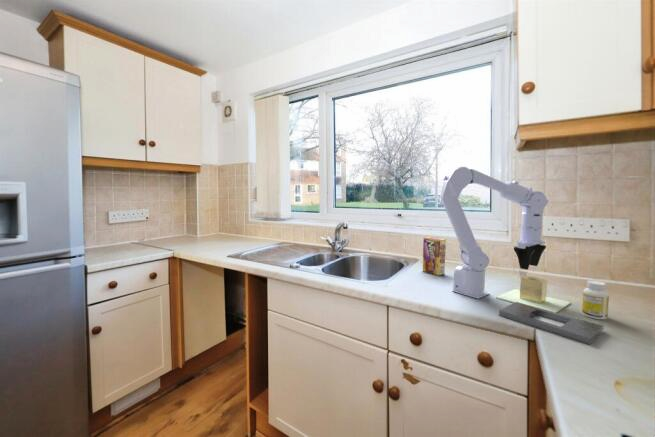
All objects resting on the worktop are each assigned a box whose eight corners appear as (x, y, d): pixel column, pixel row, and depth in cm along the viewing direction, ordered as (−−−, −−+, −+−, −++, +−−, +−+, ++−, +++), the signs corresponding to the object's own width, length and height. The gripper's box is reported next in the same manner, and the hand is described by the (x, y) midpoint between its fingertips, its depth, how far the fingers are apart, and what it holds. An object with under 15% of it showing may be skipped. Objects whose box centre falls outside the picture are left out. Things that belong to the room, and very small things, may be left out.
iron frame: (499, 315, 84) (499, 310, 84) (516, 306, 91) (516, 301, 90) (589, 344, 68) (590, 338, 68) (602, 331, 74) (603, 325, 74)
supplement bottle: (594, 311, 86) (597, 279, 85) (612, 319, 81) (615, 285, 80) (576, 312, 86) (579, 279, 85) (593, 320, 81) (596, 285, 80)
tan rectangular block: (519, 298, 96) (520, 277, 96) (524, 295, 99) (526, 275, 98) (541, 303, 91) (542, 282, 91) (546, 301, 94) (547, 279, 93)
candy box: (445, 274, 126) (446, 239, 125) (438, 275, 124) (440, 240, 122) (428, 269, 133) (429, 236, 132) (422, 271, 131) (422, 237, 130)
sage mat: (496, 298, 98) (496, 296, 98) (515, 289, 106) (515, 288, 106) (554, 314, 85) (554, 313, 85) (570, 303, 93) (570, 302, 93)
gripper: (536, 230, 90) (533, 273, 92) (553, 226, 99) (551, 266, 100) (511, 227, 96) (509, 268, 97) (530, 224, 104) (527, 262, 106)
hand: (528, 267), depth 99 cm, fingers open, 7 cm apart
